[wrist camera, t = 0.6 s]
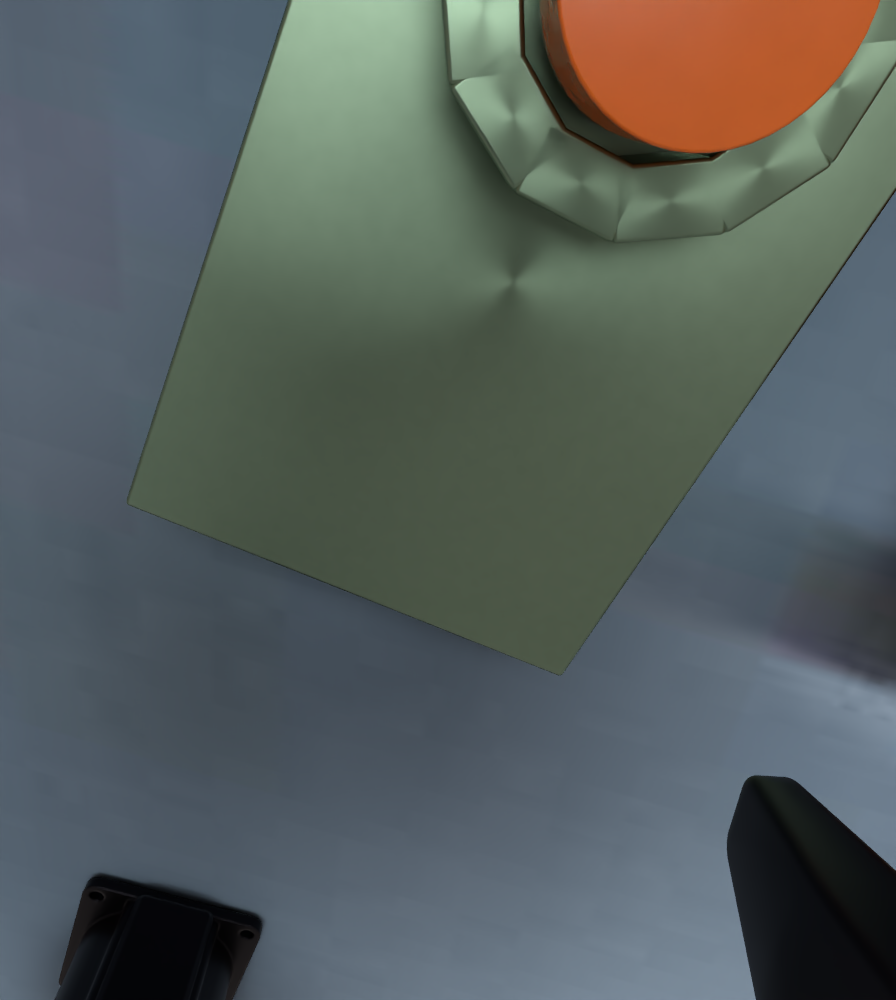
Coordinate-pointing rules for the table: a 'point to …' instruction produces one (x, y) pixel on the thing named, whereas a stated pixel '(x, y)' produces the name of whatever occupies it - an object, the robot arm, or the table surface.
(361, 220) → the block
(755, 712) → the table surface
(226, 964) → the robot arm
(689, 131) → the button
